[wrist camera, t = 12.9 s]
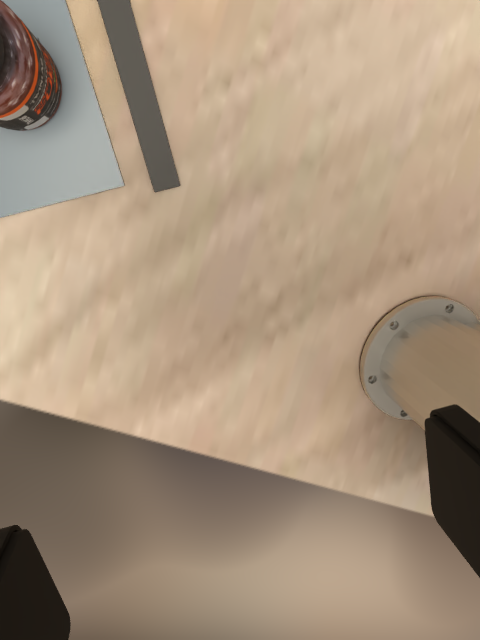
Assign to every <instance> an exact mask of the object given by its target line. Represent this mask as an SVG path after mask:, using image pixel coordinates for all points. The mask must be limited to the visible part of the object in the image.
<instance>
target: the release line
mask: <svg viewBox="0 0 480 640" xmlns="http://www.w3.org/2000/svg"><path fill="white" fill-rule="evenodd" d="M98 4H99V7H100V10H101V14H102V17H103V20H104V24H105V27H106V31H107V34H108V37H109V41H110V44H111V47H112V51H113V54H114V57H115V61H116V64H117V68H118V71H119V74H120V78H121V81H122V84H123V88H124V91H125V94H126V98H127V101H128V105H129V108H130V111H131V115H132V118H133V121H134V125H135V128H136V131H137V135H138V138H139V142H140V145H141V148H142V152H143V155H144V158H145V162H146V165H147V168H148V172H149V175H150V179H151V182H152V185H153V189H154V192H158V191H162V190H166V189H170V188H174V187H178V186H180V183H179V179H178V175H177V172H176V168H175V165H174V161H173V157H172V154H171V150H170V146H169V143H168V139H167V135H166V132H165V128H164V125H163V121H162V117H161V114H160V110H159V106H158V103H157V99H156V95H155V92H154V88H153V85H152V81H151V77H150V74H149V70H148V66H147V63H146V59H145V55H144V52H143V48H142V45H141V41H140V37H139V34H138V30H137V26H136V23H135V19H134V15H133V12H132V8H131V5H130V1H129V0H98Z"/></svg>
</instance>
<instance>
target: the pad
mask: <svg viewBox="0 0 480 640" xmlns="http://www.w3.org/2000/svg"><path fill="white" fill-rule="evenodd" d="M1 1H3V2H4V3H5V4H6V5H7V6H8V7H9V8H10V9H11V10H12V11H13V12H14V13H15V14H16V15H17V16H18V17H19V18H20V19H21V20H22V21H23V23H24V24H25V25H26V26H27V28H28V29H29V30H30V31H31V32H32V33H33V35H34V36H35V37H36V39H37V40H38V38H39V41H40V43H41V44H42V45H43V46H44V48H45V49H46V50H47V51H48V52H49V54H50V56H51V57H52V59H53V61H54V63H55V65H56V67H57V69H58V72H59V75H60V79H61V84H62V95H61V100H60V104H59V107H58V109H57V111H56V113H55V114H54V116H53V117H52V118H51V119H50V120H49V121H48V122H47V123H46V124H44V125H42V126H40V127H38V128H36V129H32V130H26V131H17V130H11V129H6V128H3V127H0V218H1V217H5V216H9V215H13V214H16V213H20V212H24V211H28V210H32V209H36V208H40V207H44V206H47V205H51V204H55V203H59V202H63V201H67V200H71V199H75V198H79V197H82V196H86V195H90V194H94V193H98V192H102V191H106V190H110V189H114V188H117V187H121V186H125V185H124V182H123V179H122V176H121V173H120V170H119V166H118V163H117V160H116V157H115V154H114V151H113V148H112V145H111V141H110V138H109V135H108V132H107V129H106V126H105V123H104V119H103V116H102V113H101V110H100V107H99V104H98V101H97V98H96V94H95V91H94V88H93V85H92V82H91V79H90V76H89V73H88V69H87V66H86V63H85V60H84V57H83V54H82V51H81V47H80V44H79V41H78V38H77V35H76V32H75V29H74V26H73V22H72V19H71V16H70V13H69V10H68V7H67V4H66V1H65V0H1Z"/></svg>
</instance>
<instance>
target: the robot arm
mask: <svg viewBox="0 0 480 640" xmlns="http://www.w3.org/2000/svg"><path fill="white" fill-rule="evenodd" d="M360 377H361V382H362V386H363V389H364V391H365V393H366V394H367V396H368V398H369V399H370V400H371V401H372V402H373V404H374V405H375V406H376V407H377V408H378V409H380V410H381V411H382V412H383V413H385V414H387V415H389V416H391V417H393V418H397V419H401V420H414V421H415V422H416V423H417V424H418V425H419V426H420V427H421V428H422V429H423V430H424V431H425V436H426V448H427V459H428V471H429V483H430V494H431V506H432V511H433V514H434V516H435V518H436V520H437V522H438V524H439V525H440V526H441V528H442V529H443V530H444V532H445V533H446V534H447V536H448V537H449V538H450V539H451V541H452V542H453V543H454V545H455V546H456V547H457V549H458V550H459V551H460V553H461V554H462V555H463V557H464V558H465V559H466V560H467V562H468V563H469V564H470V566H471V567H472V568H473V570H474V571H475V572H476V573H477V575H478V576H479V577H480V321H479V319H478V318H477V317H476V315H475V314H474V313H473V312H472V311H471V310H470V309H469V308H467V307H466V306H465V305H463V304H461V303H459V302H457V301H455V300H452V299H449V298H446V297H439V296H428V297H420V298H417V299H414V300H410V301H408V302H406V303H404V304H402V305H400V306H398V307H396V308H395V309H394V310H392V311H391V312H390V313H388V314H387V315H386V316H385V317H384V318H383V319H382V320H381V321H380V322H379V323H378V324H377V325H376V327H375V328H374V330H373V331H372V332H371V334H370V336H369V338H368V340H367V342H366V344H365V346H364V349H363V352H362V356H361V362H360ZM69 633H70V616H69V613H68V611H67V609H66V606H65V604H64V602H63V600H62V598H61V596H60V594H59V592H58V590H57V588H56V586H55V584H54V581H53V579H52V577H51V575H50V573H49V571H48V569H47V567H46V565H45V563H44V561H43V558H42V557H41V555H40V552H39V550H38V548H37V546H36V544H35V542H34V540H33V538H32V536H31V534H30V532H29V531H28V530H27V529H24V530H22V529H21V528H20V527H19V526H18V525H13V526H9V527H6V528H2V529H0V640H68V638H69Z"/></svg>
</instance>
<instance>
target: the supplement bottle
mask: <svg viewBox="0 0 480 640" xmlns="http://www.w3.org/2000/svg"><path fill="white" fill-rule="evenodd" d="M61 95H62V84H61V79H60V75H59V72H58V69H57V67H56V65H55V63H54V61H53V59H52V57H51V56H50V54H49V52H48V51H47V50H46V49H45V48H44V46H43V45H42V44H41V43H40V41H39V38H38V40H37V39H36V37H35V36H34V35H33V33H32V32H31V31H30V30H29V29H28V28H27V26H26V25H25V24H24V23H23V21H22V20H21V19H20V18H19V17H18V16H17V15H16V14H15V13H14V12H13V11H12V10H11V9H10V8H9V7H8V6H7V5H6V4H5V3H4V2H3V1H1V0H0V127H3V128H6V129H11V130H17V131H26V130H32V129H36V128H38V127H40V126H42V125H44V124H46V123H47V122H48V121H49V120H50V119H51V118H52V117H53V116H54V114H55V113H56V111H57V109H58V107H59V104H60V100H61Z"/></svg>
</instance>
